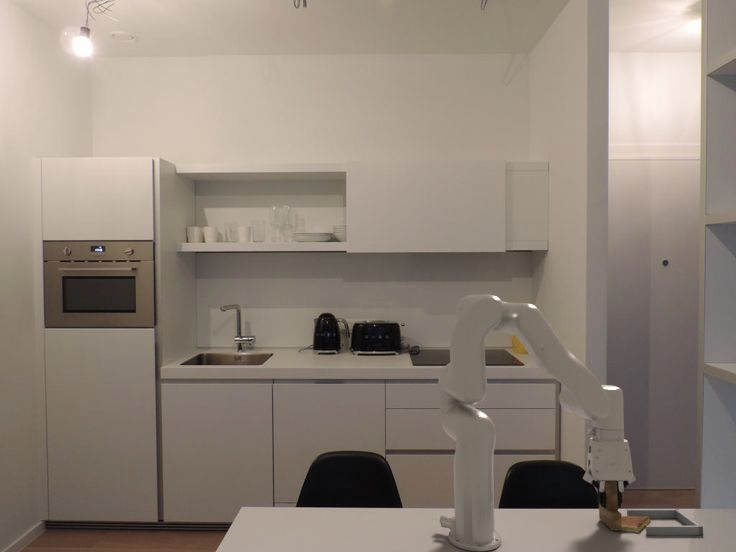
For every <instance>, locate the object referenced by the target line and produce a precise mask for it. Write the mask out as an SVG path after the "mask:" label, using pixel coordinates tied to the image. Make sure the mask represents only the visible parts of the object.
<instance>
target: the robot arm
mask: <svg viewBox="0 0 736 552" xmlns="http://www.w3.org/2000/svg"><path fill="white" fill-rule="evenodd" d="M455 312H456V316H457V317H456V318H457V321H456V322H455V324H454V326H453V328H452V331H451V334H450V339H449V360H450V361H449V363H447V364H446V365H445V366H443V368H442V369H441V371H440V373H439V376H438V383H437V389H438V401H439V403H438V405H439V413H440V414H439V415H440V416H439V417H440V423H441V426H442V429H443V431H444V433H445V434H446V435H447V436H448V437H450V438H451V439H452V440H454V441H455V443H456V446H455V452H454V458H453V482H454V483H453V491H454V495H453V496H454V497H453V498H454V516H452V517H450V516H446V515H440V517H439V524H440V527H441V528H445V529H449V530H450V531H449V532H448V541H449V542H450V543H451V544H452V545H453V546H454V547H456V548H459V549H461V550H465V551H471V552H487V551H491V550H496V549H498V547H500V545H501V544H502V536H501V534H500V533H499V532H498V531H496V530H495V494H494V493H495V489H494V485H495V483H494V452H495V446H496V440H497V439H496V438H497V431H496V426H495V424H494V422H493V420H492V419H491V417H489V415H488V414H486V413H485V412H483V411H482V410H479V409H478V408H475V405H476V404H479V403H481V402H483V400H484V399H485V398H486V395H487V393H488V379H487V368H486V367H487V365H486V342H487V340H488V339H487V338H488V337H489V335H490V334H491V332H493V333H498V334H499V333H500V334H505V335H512V336H515V337H516V338H517V339H518V341H519V342H520V344H521V345H522V346H523V348H524V349H525V351H526V352H527V354H528V355H529V357H530V358H531V360H532V361H533V363H534V364H535V365H536V366H537V368H538V369H540V370H541V371H542V372H543V373H545V374H546V375H548V376H550V377H552V378H553V379H555V380H556V381H558V382H559V384H561V385H562V386H564V388H563V389H562V390H561V391H560V393H559V395H558V402H559V404H560V406H561V407H562V409H564V410H565V411H566V412H568V413H570V414H572V415H575V416H578V417H581V418H583V419H587V420H590V421H592V425H591V428H590V429H586V432H587V435H588V436H589V435H590V436H592V437H590V438H589V444H588V449H587V460H586V461H587V462H586V464H587V468H586V470H585V473H584V475H583V477H582V479H583V480H584V481H586V482H587V483H590V484H591V485H592V486H593V487H595V488H596V489H597V502H598V505H599V504H600V505H601V506H602V507H603V508H606V504H607V497H606V492H605V490H604V485H605V481H616V482H617V497H618V509H621V507H622V505H621V504H622V503H623V492H624V491H625V488H627V487H628V486H629V484H632V483H633V482H635V481H636V476H635V475H634V472H633V463H632V462H633V460H632V455H631V454H632V453H631V449H630V444H629V441H628V440H627V439H625V425H624V424H625V421H624V420H625V419H624V416H625V415H624V392H623V389H621V387H619V386H616V385H608V384H601V383H600V381H599V380H598V379H597V377H596V376H595V375H594V373H593V372H592V371H591V370H590V369H589V368H588V367H586V365H585V364H584V363H583V362H581V361H580V360H579V358H577V357H576V356H575V355H574V354H573V353H572V352H570V351H569V349H568V348H566V347H565V345H564V344H563V342H562V341H561V340H560V338H559V336H558V335H557V334H556V331H554V329H553V327H552V326H551V325H550V323H549V322H548V320H547V319H546V317H545V316H544V314H543V313H542V312H541V310H540V309H539V308H538V307H537V306H536V305H533V304H531V303H528V302H527V303H526V302H507V301H502V299H500V298H499V297H498V296H496V295H493V294H489V293H488V294H487V293H486V294H484V293H483V294H469V295H466V296H464V297H462V298H461V299H459V301H458V303H457V305H456V310H455Z"/></svg>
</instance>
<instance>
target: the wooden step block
mask: <svg viewBox="0 0 736 552" xmlns="http://www.w3.org/2000/svg"><path fill="white" fill-rule="evenodd" d="M604 490H605V492H606V497H607V504H606V508H603V507H602V506H601V505H600V504H599V503H598V512H599V515H598V516H599V520H600V521H602V522H603V523H604V525H605V526H606V527H608V528H609V529H610V530H611V531H623V530H622V518H621V516H622V513H621V512H620V511H619V508H618V497H617V482H616V481H605V485H604Z"/></svg>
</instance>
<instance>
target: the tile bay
mask: <svg viewBox="0 0 736 552" xmlns="http://www.w3.org/2000/svg"><path fill="white" fill-rule="evenodd" d="M626 516H651V518H650V519H665V518H666V519H675V518H676V519H677V520H678V521H679V522H681V523H682V524H683V525H646V526H645V532H646V533H645V534H646V535H647V536H703V535H704V526H702V525H701V524H700V523H698V522H696V521H695V520H694V519H693V518H691V517H690V516H688V515H687V514H686V513H685V512H683V511H681V510H680V509H678V508H634V509H633V508H629V509H628V508H626Z"/></svg>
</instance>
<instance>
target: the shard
mask: <svg viewBox="0 0 736 552" xmlns="http://www.w3.org/2000/svg"><path fill="white" fill-rule="evenodd" d="M621 518H622V530H621V531H625V532H633V533H637V534H638V533H640V532H641V530H642V529H643V528H646V526H649V524H650V519H652V518H651V516H627V515H621Z"/></svg>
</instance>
